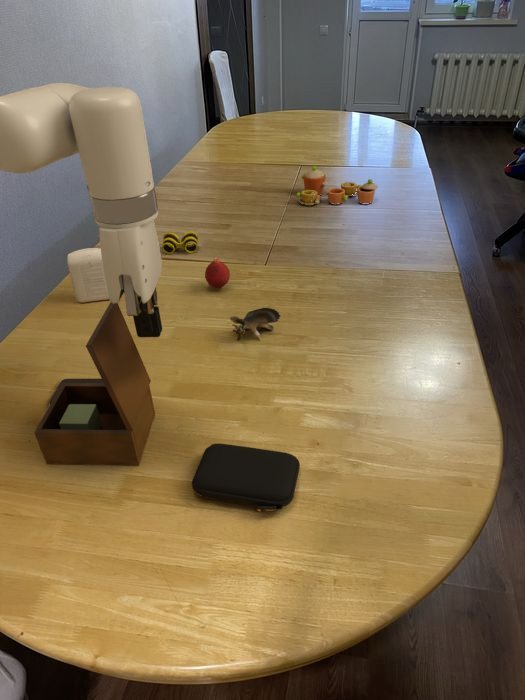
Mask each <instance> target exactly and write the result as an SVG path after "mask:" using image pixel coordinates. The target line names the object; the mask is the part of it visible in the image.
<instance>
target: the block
mask: <svg viewBox="0 0 525 700" xmlns="http://www.w3.org/2000/svg"><path fill="white" fill-rule="evenodd" d="M59 425H60V427H61V429H65V430H100V429H101V426H102V422H101V419H100V415H99V412H98V408H97V405H96V404H69V406H68V407H67V409H66V411H65V413H64V415H63V417H62V419H61V421H60V423H59Z"/></svg>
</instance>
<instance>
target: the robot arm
mask: <svg viewBox="0 0 525 700" xmlns="http://www.w3.org/2000/svg"><path fill="white" fill-rule="evenodd" d="M144 119H145V118H144V113H143V107H142V102H141V99H140V97H139V96H138V94H137V93H136V92H135V91H134V90H132V89H130V88H127V87H122V86H121V87H120V86H103V87H93V88H92V87H87V86H83V85H78V84H74V83H69V82H52V83H47V84H44V85H40V86H36V87H35V86H34V87H30V88H25V89H22V90H18V91H14V92H11V93H7V94H4V95H0V171H3V172H7V173H12V174H26V173H28V174H29V173H33V172H36V171H38V170H40V169H42V168H45V167H47V166H49V165H51V164H53V163H56V162H58V161H61V160H62V159H66V158H69V157H71V156H74V155H77V154H78V155H79V158H80V163H81V166H82V171H83V174H84V179H85V184H86V188H87V193H88V197H89V201H90V205H91V210H92V214H93V218H94V222H95V224H96V225H98V226H99V228H98V232H99V233H98V235H99V244H100V246H99V248H101V255H102V261H103V267H104V273H105V278H106V284H107V289H108V294H109V298H110V299H109V302H112V303H113V304H116V303H118V304H119V302H121V301H120V300H121V299H122V297H123V295H124V300H125V302H124V303H125V308H126V314H127V316H128V317H132V318H133V322H134V327H135V331H136V335H137V337H138V338H159V337H160V336H161V335H162V334H161V333H162V331H163V325H162V317H161V313H160V308H159V306H158V302H159V301H158V293H157V285H158V283H159V280H160V279H161V275H162V273H163V260H162V253H161V252H162V251H161V247H160V243H159V237H158V231H157V227H156V223H155V220H157V218H158V217H159V207H158V201H157V194H156V188H155V187H156V186H155V183H154V176H153V169H152V162H151V156H150V150H149V145H148V144H149V143H148V138H147V131H146V126H145V120H144Z"/></svg>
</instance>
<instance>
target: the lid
mask: <svg viewBox="0 0 525 700" xmlns="http://www.w3.org/2000/svg"><path fill="white" fill-rule="evenodd" d="M85 348H86V349H87V352H88V354H89V356H90V357H91V360H92V362H93V364H94V366H95V368H96V370H97V372H98V374H99V376H100V379H102V380H103V382H104V384H105V386H106V388H107V390H108V392H109V394H110V396H111V398H112V400H113V402H114V404H115V406H116V408H117V410H118V412H119V414H120V416H121V418H122V420H123V422H124V424H125V426H126V429H127V431H128V432H129V431H133V429H134V427H135V424H136V421H137V418H138V415H139V413H140V410H141V407H142V404H143V401H144V399H145V396H146V393H147V390H148V387H149V386H150V384H151V382H152V381H151V377H150V376H149V373H148V371H147V368H146V367H145V363H144V362H143V359H142V357H141V355H140V352H139V349H138V348H137V345H136V343H135V340H134V339H133V336H132V334H131V331H130V328H129V326H128V324H127V322H126V320H125V317H124V315H123V312H122V310H121V308H120V305H119V302H118V303H116V304H113V303H112V302H111V301H109V304H108V306H107V307H106V309H105V311H104V313H103V314H102V316H101V318H100V320H99V322H98V323H97V325H96V327H95V329H94V330H93V332H92V334H91V336H90V338H89V339H88V341H87V342H86V344H85Z"/></svg>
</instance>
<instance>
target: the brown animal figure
mask: <svg viewBox="0 0 525 700" xmlns="http://www.w3.org/2000/svg"><path fill="white" fill-rule="evenodd" d="M281 316H282V315H281V314H280V312H278V310H276V309H275V308H270V307H261V308H257V309H253V310H249V311H248V312H247V313H246V314H245V316H244V317H243V318H240V317H239V316H236V315H233V316H229V320H230V321H231V322H232V323H234V324H231V326H233V327H235V328H234V329H232V332H233V333H235V334H236V335H237V338H236V341H240V340H241V339H242V338H243V336H244V334H245V333H247V332H249V333H250V334H251V335H253V336H255V338H257V339H258V341H261V334H260V332H259V331H258V330H257V329H258V328H259V329H267V330H270V331H273V330H275V328H274V326H273V325H271V324H273V323H278V321H279V319H281Z"/></svg>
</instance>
